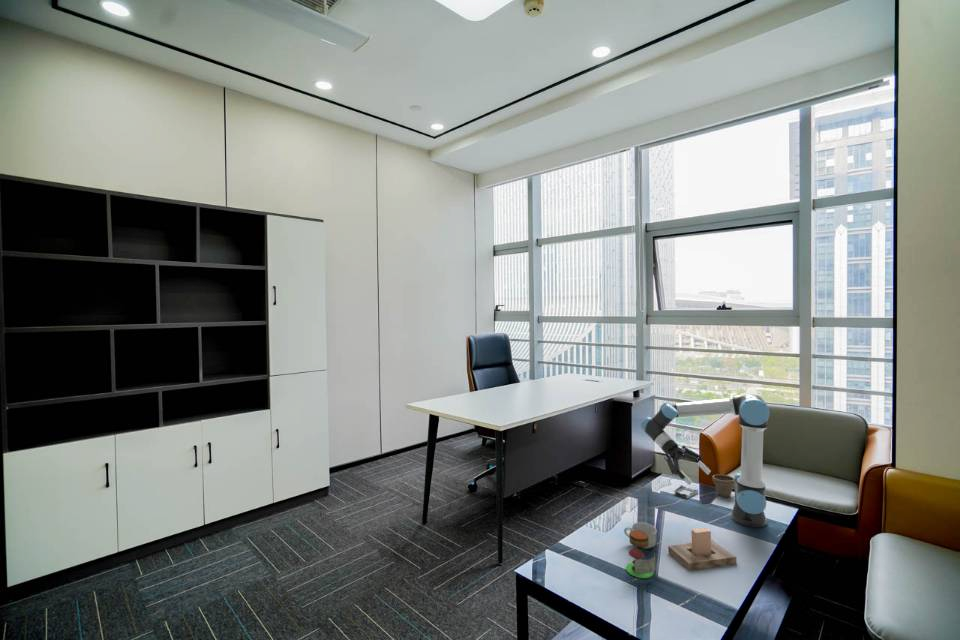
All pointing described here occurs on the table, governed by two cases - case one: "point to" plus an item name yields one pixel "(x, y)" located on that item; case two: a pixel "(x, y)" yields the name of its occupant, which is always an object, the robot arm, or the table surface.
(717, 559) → the slotted rack
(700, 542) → the salmon rectangular block
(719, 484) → the flower pot
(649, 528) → the teacup
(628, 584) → the table surface
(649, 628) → the table surface
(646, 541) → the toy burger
